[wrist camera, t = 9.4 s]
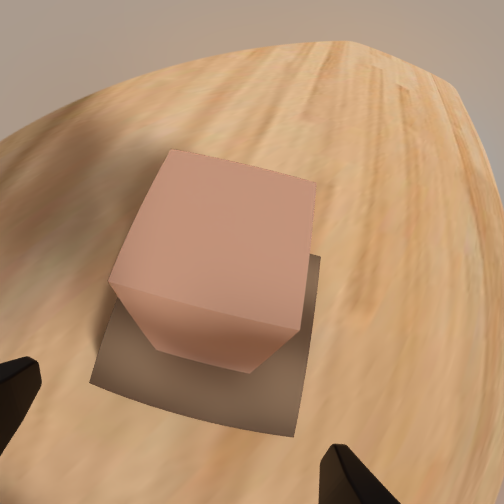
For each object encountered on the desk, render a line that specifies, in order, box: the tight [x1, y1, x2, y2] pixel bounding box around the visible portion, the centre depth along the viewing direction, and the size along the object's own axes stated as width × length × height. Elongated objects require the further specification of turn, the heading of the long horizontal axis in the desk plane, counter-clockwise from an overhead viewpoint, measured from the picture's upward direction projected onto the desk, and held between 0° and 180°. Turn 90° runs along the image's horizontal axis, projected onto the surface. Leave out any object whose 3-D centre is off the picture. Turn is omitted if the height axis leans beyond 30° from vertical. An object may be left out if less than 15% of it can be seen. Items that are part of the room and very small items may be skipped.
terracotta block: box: [108, 149, 316, 374], centre depth 13 cm, size 5×5×9 cm
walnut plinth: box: [89, 254, 321, 437], centre depth 18 cm, size 11×11×3 cm
